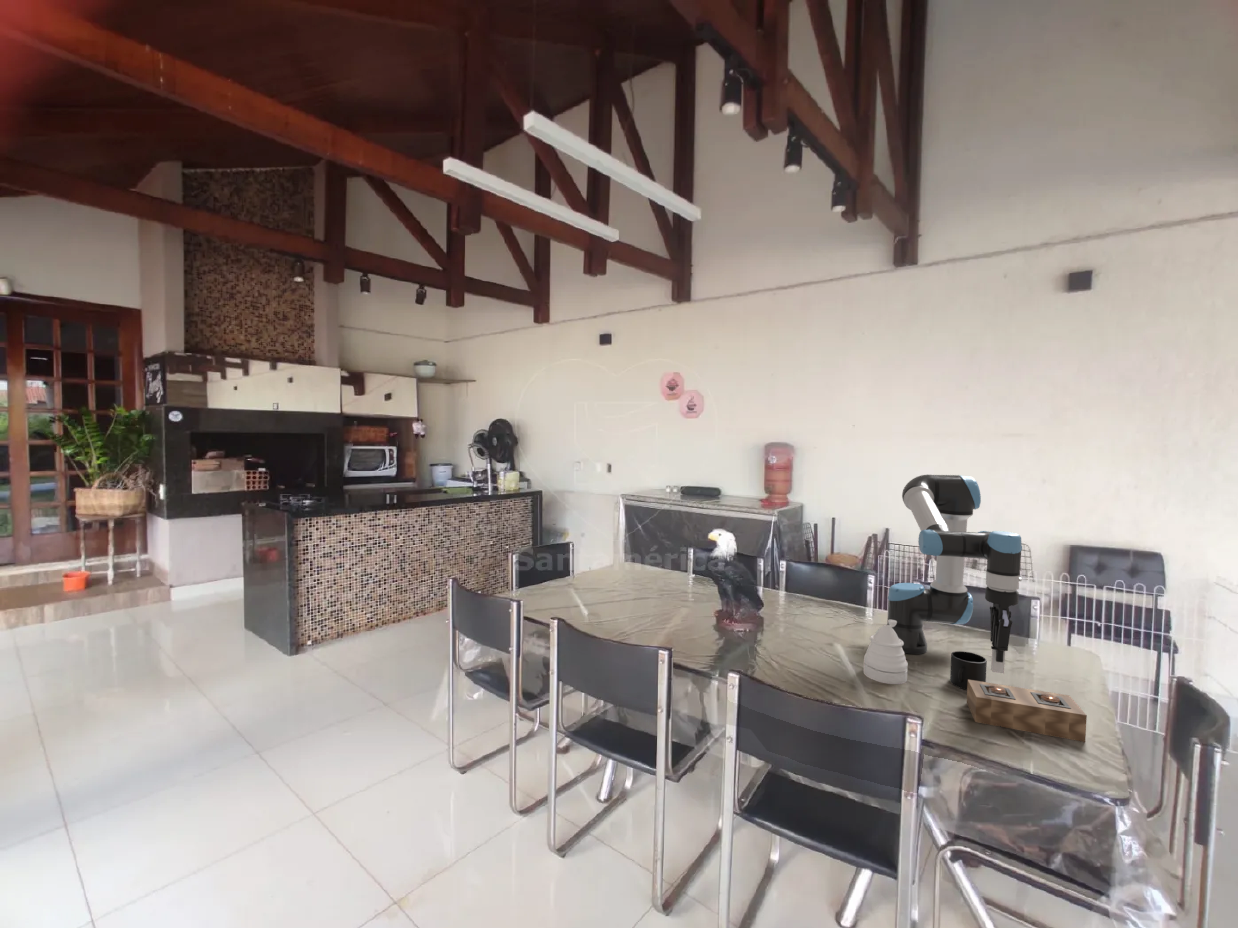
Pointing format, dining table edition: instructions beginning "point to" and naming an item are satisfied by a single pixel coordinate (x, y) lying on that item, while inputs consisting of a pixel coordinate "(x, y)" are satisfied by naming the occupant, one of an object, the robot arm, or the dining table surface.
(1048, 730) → the socket block
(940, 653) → the dining table surface
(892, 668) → the honey pot
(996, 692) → the peg
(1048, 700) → the peg
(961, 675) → the mug
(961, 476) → the robot arm
